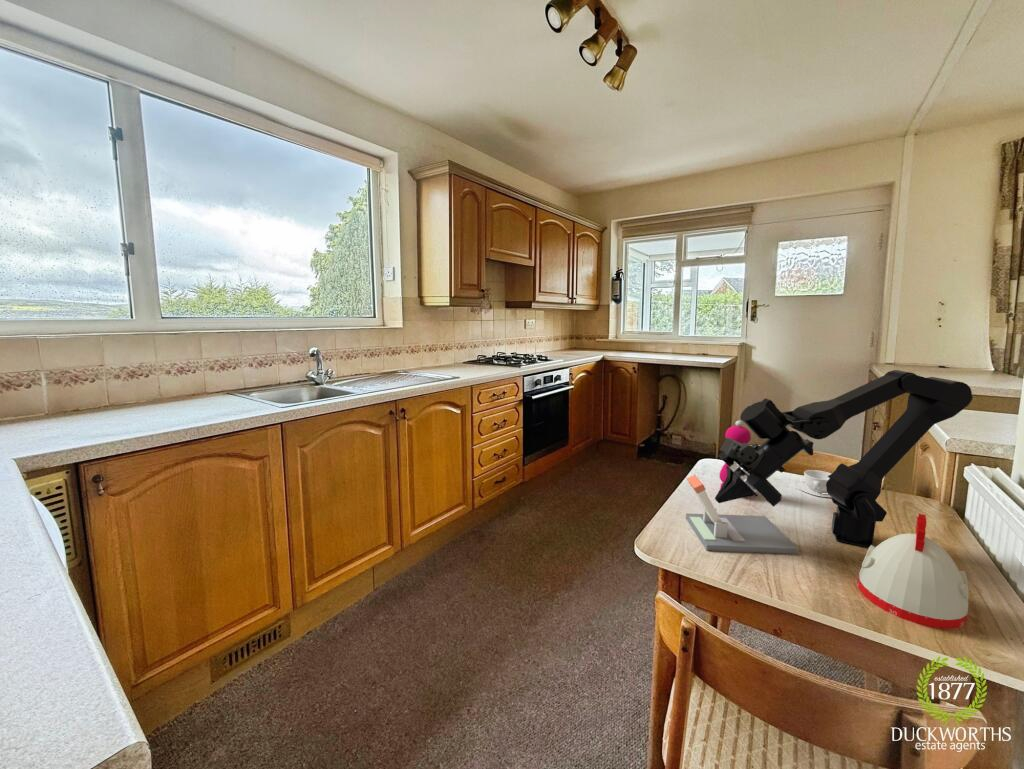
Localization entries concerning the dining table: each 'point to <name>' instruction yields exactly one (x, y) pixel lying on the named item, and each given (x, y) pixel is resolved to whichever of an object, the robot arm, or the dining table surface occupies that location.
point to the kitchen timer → (915, 580)
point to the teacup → (815, 482)
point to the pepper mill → (738, 435)
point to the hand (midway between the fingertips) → (716, 500)
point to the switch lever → (704, 498)
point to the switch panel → (740, 534)
